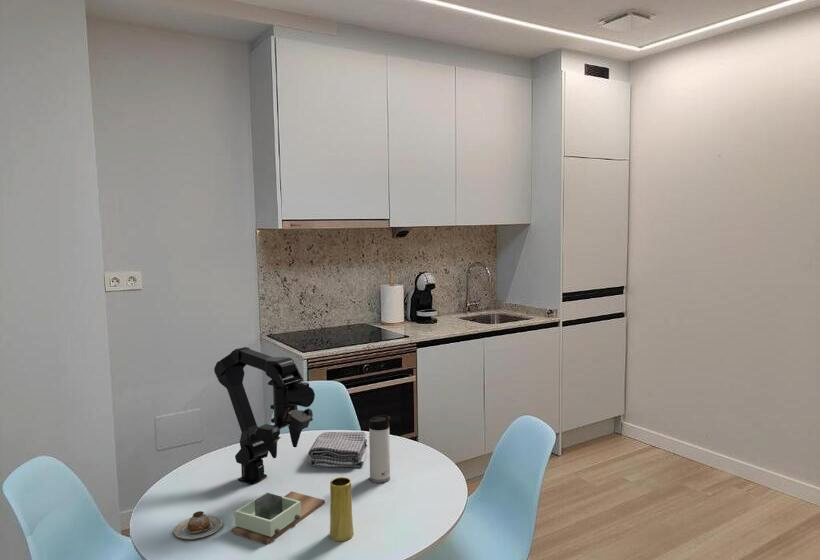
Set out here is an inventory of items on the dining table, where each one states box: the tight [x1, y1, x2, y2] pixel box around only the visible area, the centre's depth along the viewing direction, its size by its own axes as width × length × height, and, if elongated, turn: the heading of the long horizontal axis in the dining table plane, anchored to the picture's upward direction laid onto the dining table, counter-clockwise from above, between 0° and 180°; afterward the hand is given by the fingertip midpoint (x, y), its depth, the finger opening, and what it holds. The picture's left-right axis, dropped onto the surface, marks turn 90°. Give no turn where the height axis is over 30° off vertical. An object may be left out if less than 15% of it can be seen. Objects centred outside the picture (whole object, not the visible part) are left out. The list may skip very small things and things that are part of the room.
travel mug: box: [368, 414, 391, 484], centre depth 180 cm, size 6×7×20 cm
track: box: [231, 491, 326, 545], centre depth 157 cm, size 12×24×1 cm, turn 152°
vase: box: [329, 476, 355, 542], centre depth 147 cm, size 6×6×14 cm
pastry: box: [173, 510, 223, 541], centre depth 151 cm, size 12×12×5 cm
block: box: [255, 492, 283, 520], centre depth 153 cm, size 5×5×5 cm
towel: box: [307, 431, 368, 468], centre depth 196 cm, size 15×18×8 cm
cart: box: [234, 492, 301, 537], centre depth 153 cm, size 14×12×4 cm
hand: (284, 452), depth 172 cm, fingers open, 9 cm apart
